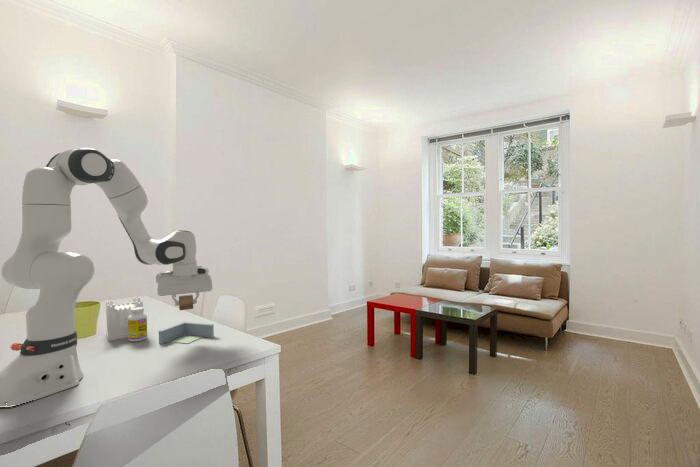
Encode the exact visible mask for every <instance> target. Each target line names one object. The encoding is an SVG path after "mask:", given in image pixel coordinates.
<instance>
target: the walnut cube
mask: <svg viewBox="0 0 700 467" xmlns="http://www.w3.org/2000/svg"><path fill="white" fill-rule="evenodd" d="M193 299H194V295H193V293H189V294H179V295H178V300H179V305H178V308H179V310H178V311H185V310H186V311H187V310H193V309H194V304H193Z"/></svg>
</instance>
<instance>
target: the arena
mask: <svg viewBox="0 0 700 467" xmlns="http://www.w3.org/2000/svg"><path fill="white" fill-rule="evenodd" d="M214 328H215V325H214V324H213V323H205V322H204V323H203V322H202V323H201V322H191V321H183V322H180V323H176V324H174V325H172V326H168V327H166V328H163V329H161V330H158V344H161V345H163V344H166V343H168V342H171V343H175V344H184V345H188V344H191V343H193V342H195V341H198V340H200V339H202V338H203V337H204V338H213V337H214V336H215V331H214ZM193 335H194V336H193Z"/></svg>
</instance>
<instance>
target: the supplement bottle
mask: <svg viewBox="0 0 700 467" xmlns="http://www.w3.org/2000/svg"><path fill="white" fill-rule="evenodd" d="M144 311H145V308H144V306H143V307H136V308H132V309H131V315H130V316H129V317H128V341H129V342H131V343H132V342H133V343H134V342H135V343H136V342H143V341H145V340H147V339H148V316H147V313H144Z"/></svg>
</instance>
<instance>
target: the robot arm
mask: <svg viewBox="0 0 700 467" xmlns="http://www.w3.org/2000/svg"><path fill="white" fill-rule="evenodd" d="M90 184H95V185H96V186H98V187H99V188H100V189H101V190H102V191H103V193H104V194H105V197H106V198H107V199H108V200H109V203H110V204H111V205H112V207H113V208H114V210H115V212H116V214H117V216H118V219H119V220H120V221H119V222H120V223H121V224H122V226H123V228H124V230H125V232H126V234H127V236H128V238H129V240H130V241H131V243H132V246H133V251H134V255H135V258H136V259H137V261H138V262H140V264H143V265H146V266H147V265H157V266H160V265H162V266H166V265H167V266H168V265H171V264H172V271H171V270H170V271H160V272H159V273H157V274H156V276H155V281H156V283H157V289H156V290H157V292H156V293H157V295H158V296H159V297H166V296H171V298H172V300H173V301H174V306H175V307H176V306H178V307H179V299H178V300H177V299H176V297H177V295H188V294H193V293H194V294H195V297H194V298H193V305H195V304H197V303H198V301H197V300H198V298H199V297H200V293H203V292H204V293H205V292H212V290H213V282H212V281H213V280H212V277H211V275H210V274H209V270H210V269H209V268H208V267H206V266H202V265H198V263H197V259H196V254H197V243H196V242H197V241H196V237H195V234H194V233H193V232H192V231H188V230H181V229H176V230H173V232H172V233H171V234H169V235H167V236H166V237H163V238H162V239H155V238H153V237H152V236H151V235H150V234H149V232H148V230H147V229H146V227H145V224H144V222H143V220H142V218H141V215H142V213H143V212H144V211H145V209H146V208H147V206H148V201H149V200H148V197H147V193H146V191H145V190H144V187H143V186H142V185H141V183H140V182H139V180H138V179H137V177H136V175H135V174H134V173H133V171H131V169H130V168H129V167H128V166H127V165H126V163H124V162H123V161H121V160H119V159H110V158H108V157H107V155H105V154H103V153H102V152H101V151H98V149H97V150H96V149H94V148H89V147H81V148H77V149H76V148H75V149H74V148H71V149H68V150H65V151H63V152H59V153H57V154H55V155H54V156H53V157H51V159H49V161H48V163H47V164H46V165H45V166H44V167H37V168H36V167H35V168H33V169H30V170H28V171H27V173H26V174H25V178H24V181H23V185H22V194H21V206H22V207H21V209H22V210H21V211H22V218H21V219H22V224H21V225H22V226H21V235H20V238H19V241H18V243H17V247H16V248H15V250H14V252H13V254H12V255H11V256H10V257H9V258H8V259H7V260H6V261H5V262H4V263H3V265H2V268H1V275H2V278H3V280H4V281H5V282H6V283H8V284H9V285H10V286H13V287H17V288H20V289H21V288H22V289H25V290H39V295H38V298H37V301H36V303H35V304H34V305H33V306H31V307H30V308H29V309H28V310H27V312H26V314H25V323H26V324H25V325H26V326H25V327H26V329H25V330H26V338H25V340H24V342H23V343H19V342H13V343H11V345H10V347H9V349H10V350H12V351H16V352H18V351H19V354H18V355H17V356H16V357H15V358H14V359H13V360H11V361H10V363H8V364H7V365H6V366H5V367H4V368H3V369H1V371H0V406H6V405H7V406H11V405H18V404H22V403H25V404H27V403H26V402H28V403H30V402H29V401H31V402H33V401H37V400H38V399H42V398H44V397H47V396H50V395H53V394H56V393H59V392H62V391H64V390H68V389H70V388H73V387H75V386H78V385H79V383H80V380H81V379H82V378H83V377H84V372H83V371H82V369H81V365H80V363H79V362H80V361H79V357H78V352H77V345H78V333H77V330H76V325H75V324H76V321H75V320H76V318H75V317H76V316H75V315H76V314H75V313H76V312H75V311H76V304H77V300H78V297H79V295H80V294H81V292H82V290H83V288H84V287H86V286H87V285H88V284H89V283H90V282H91V281H92V279H93V277H94V275H95V266H94V263H93V260H92V259H91V258H90V257H89V256H86V255H83V254H80V253H75V252H72V251H71V252H70V251H67V252H63V251H62V252H61V251H60V252H59V247H60V245H61V242H62V241H63V240H64V238H65V237H67V236H68V235H70V233H71V232H72V229H73V228H72V202H71V194H72V190H73V188H74V187H75V186H87V185H90ZM32 400H33V401H32ZM6 403H7V404H6ZM22 405H23V404H22Z"/></svg>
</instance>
